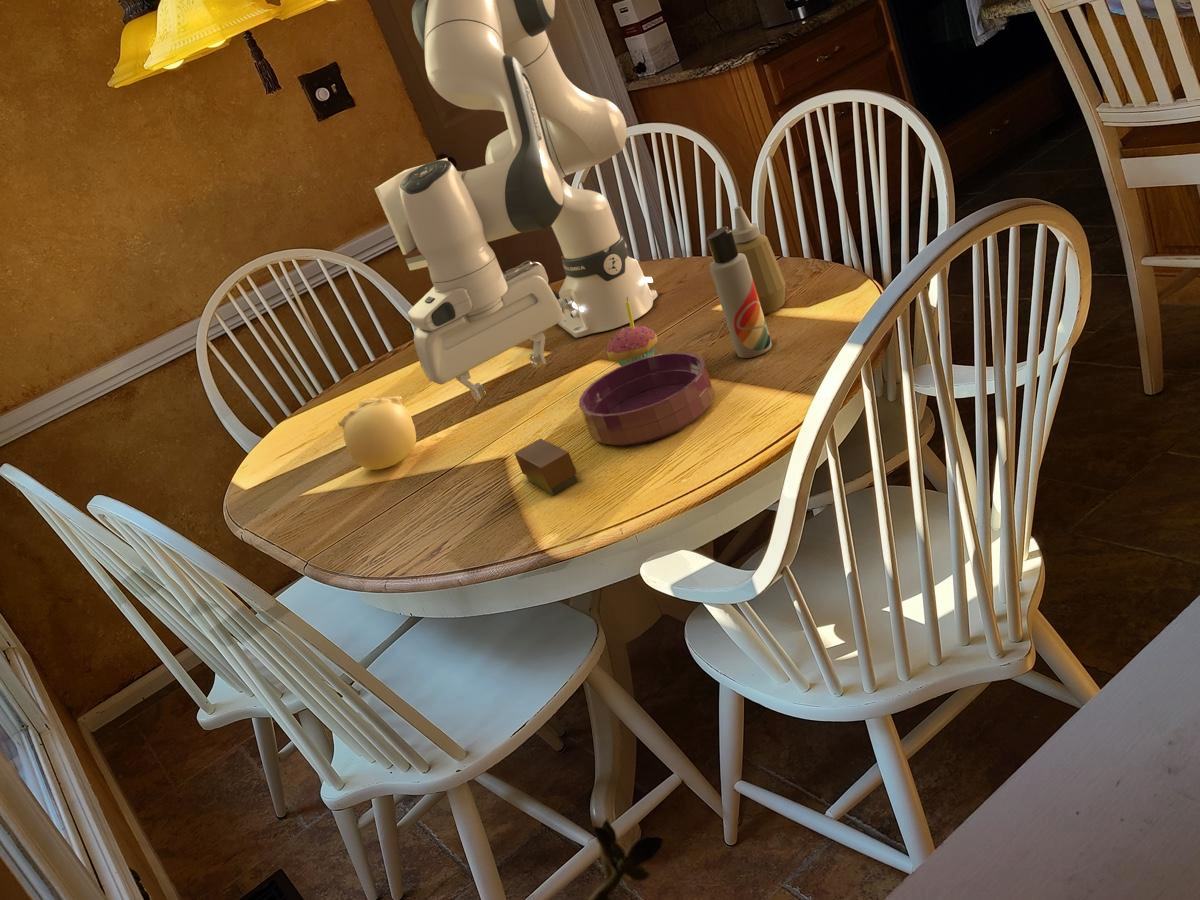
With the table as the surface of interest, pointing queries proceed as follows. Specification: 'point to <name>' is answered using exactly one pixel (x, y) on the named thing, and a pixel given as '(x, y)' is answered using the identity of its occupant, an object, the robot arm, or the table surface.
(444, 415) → the table surface
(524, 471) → the dark chocolate square
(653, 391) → the bowl
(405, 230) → the cream shelf stand
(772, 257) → the squeeze bottle
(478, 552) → the table surface
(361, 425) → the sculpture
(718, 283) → the lotion bottle
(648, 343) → the cupcake
